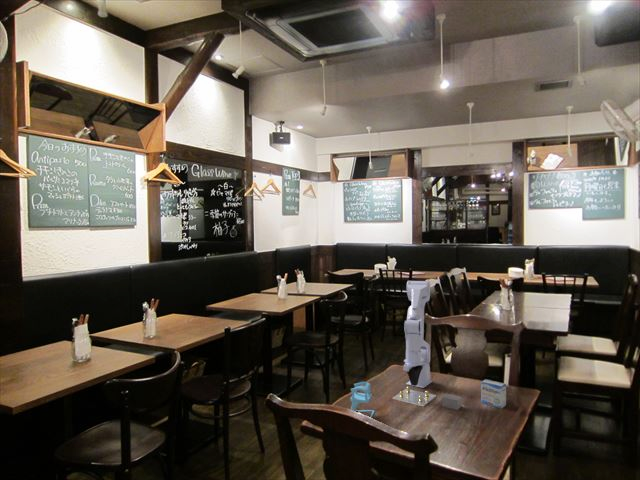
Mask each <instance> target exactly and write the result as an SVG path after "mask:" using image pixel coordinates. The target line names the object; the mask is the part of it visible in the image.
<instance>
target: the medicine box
mask: <svg viewBox="0 0 640 480" xmlns="http://www.w3.org/2000/svg"><path fill="white" fill-rule="evenodd" d="M480 385H481V386H480V397H481V398H480V403H481V404H483V405H487V406H491V407H495V408H499V409H503V408H505V406H506V405H507V384H506V383H503V382H501V381H500V382H499V381H494V380H491V379H487V378H486V379H484V380H482V381H480Z"/></svg>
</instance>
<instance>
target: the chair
mask: <svg viewBox="0 0 640 480" xmlns="http://www.w3.org/2000/svg"><path fill="white" fill-rule="evenodd" d="M371 385H372V384H371V383H370V382H367V381H359V382H357V383H353V386H354V387H353V388H350V391H351V397H350V399H349V401H350V402H351V407H350V410H354V411H358V412H357V413H371V414H370V416H369V417H373V416H374V413H375V410H374V409H373V410H371V409H368V410H367V409H364V410H362V409H361V410H359V409H358V410H356V409H357V407H358V404H362V403H364V404H369V402H370V400H371V398H372V396H373V394H372V393H371V392H370V391H371ZM358 391H361V392H358ZM362 392H364V393H362Z"/></svg>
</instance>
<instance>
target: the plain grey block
mask: <svg viewBox="0 0 640 480" xmlns="http://www.w3.org/2000/svg"><path fill="white" fill-rule="evenodd" d="M441 407H442V408H447V409H451V410H455V411H459V410H460V409H461V408H462V396H458V395H455V394H451V393H450V394H448V393H445V394H444V395H442V396H441Z"/></svg>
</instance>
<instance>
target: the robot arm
mask: <svg viewBox="0 0 640 480" xmlns="http://www.w3.org/2000/svg"><path fill="white" fill-rule="evenodd" d="M406 294H407V298H408V301H410V302H411V305H410V306H408V309H407V314H406V315H407V316H406V320H404V323H403V324H404V325H403V326H404V327H403V328H404V334H405V335H404V338H405V359H404V360H403V363H404V364H403V366H402V367H403V368H402V370H403V372H406V374H407V376H408V378H409V380H408V382H406V383H405V385H407V386H412V387H416V388H422V389H423V388H425V387H428V385H430V384H431V383H432V382H433V380H432V379H431V367H430V364H429V363H430V362H431V347H430V344H429V343H428V342H427V341H426V340H424V333H425V329H424V328H425V326H424V325H425V306H426V303H427V302H429V301H430V299H431V283H430V281H429V280H407V282H406Z"/></svg>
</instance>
